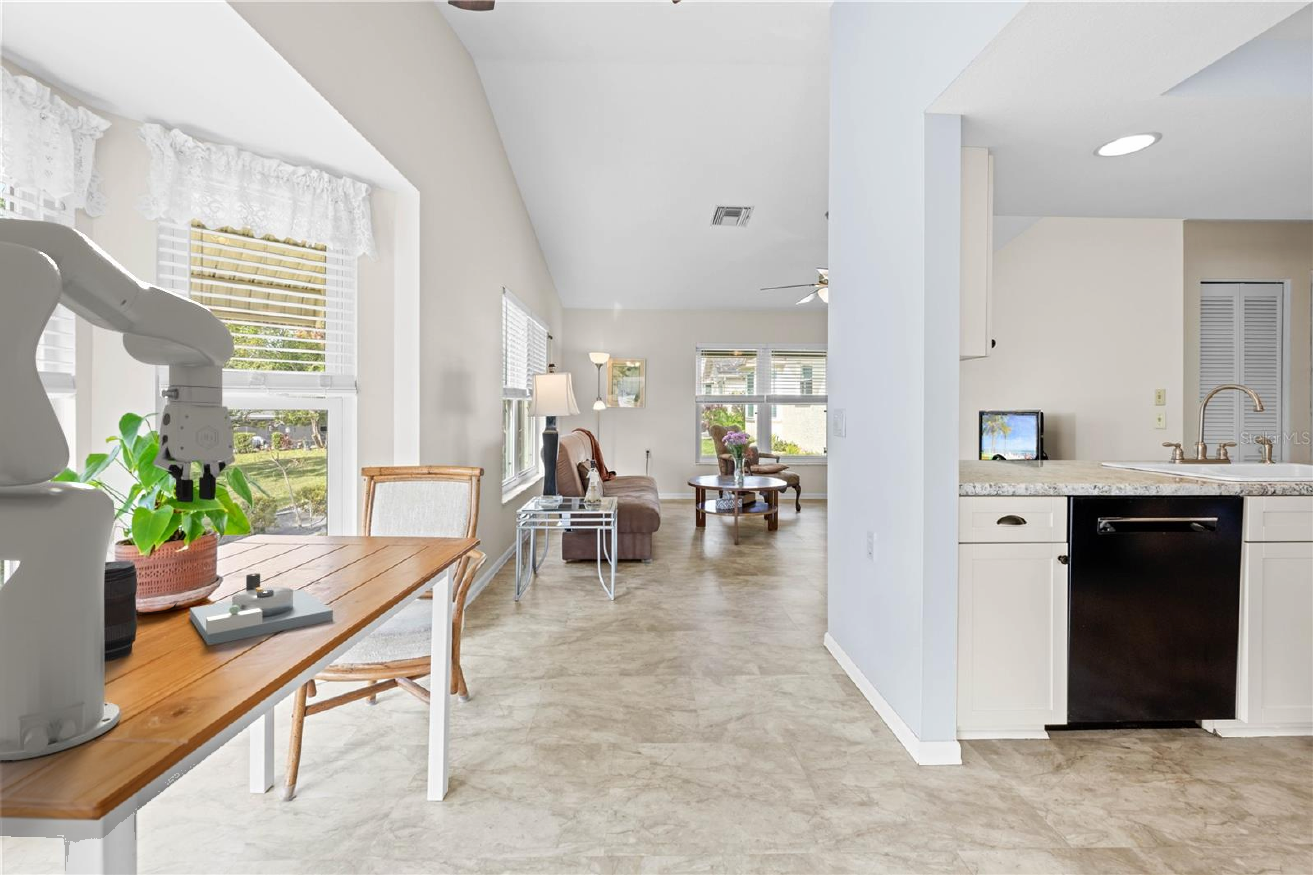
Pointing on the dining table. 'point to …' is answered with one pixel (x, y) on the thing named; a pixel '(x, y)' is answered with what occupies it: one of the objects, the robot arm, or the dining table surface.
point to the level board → (270, 622)
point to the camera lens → (119, 608)
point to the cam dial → (263, 597)
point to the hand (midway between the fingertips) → (196, 499)
